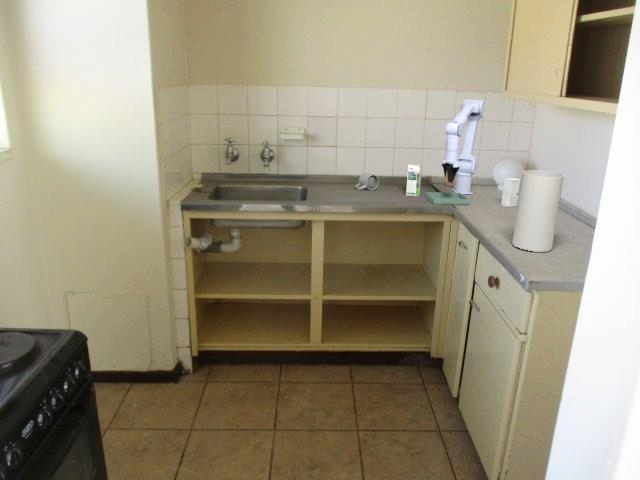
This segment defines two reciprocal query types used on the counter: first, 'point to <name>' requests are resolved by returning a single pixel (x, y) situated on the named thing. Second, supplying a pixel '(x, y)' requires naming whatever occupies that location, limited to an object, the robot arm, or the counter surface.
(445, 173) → the robot arm
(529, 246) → the cylinder vase
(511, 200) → the skincare box
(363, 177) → the ceramic mug
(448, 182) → the salt shaker
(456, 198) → the tray
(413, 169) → the syrup box
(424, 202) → the counter surface
